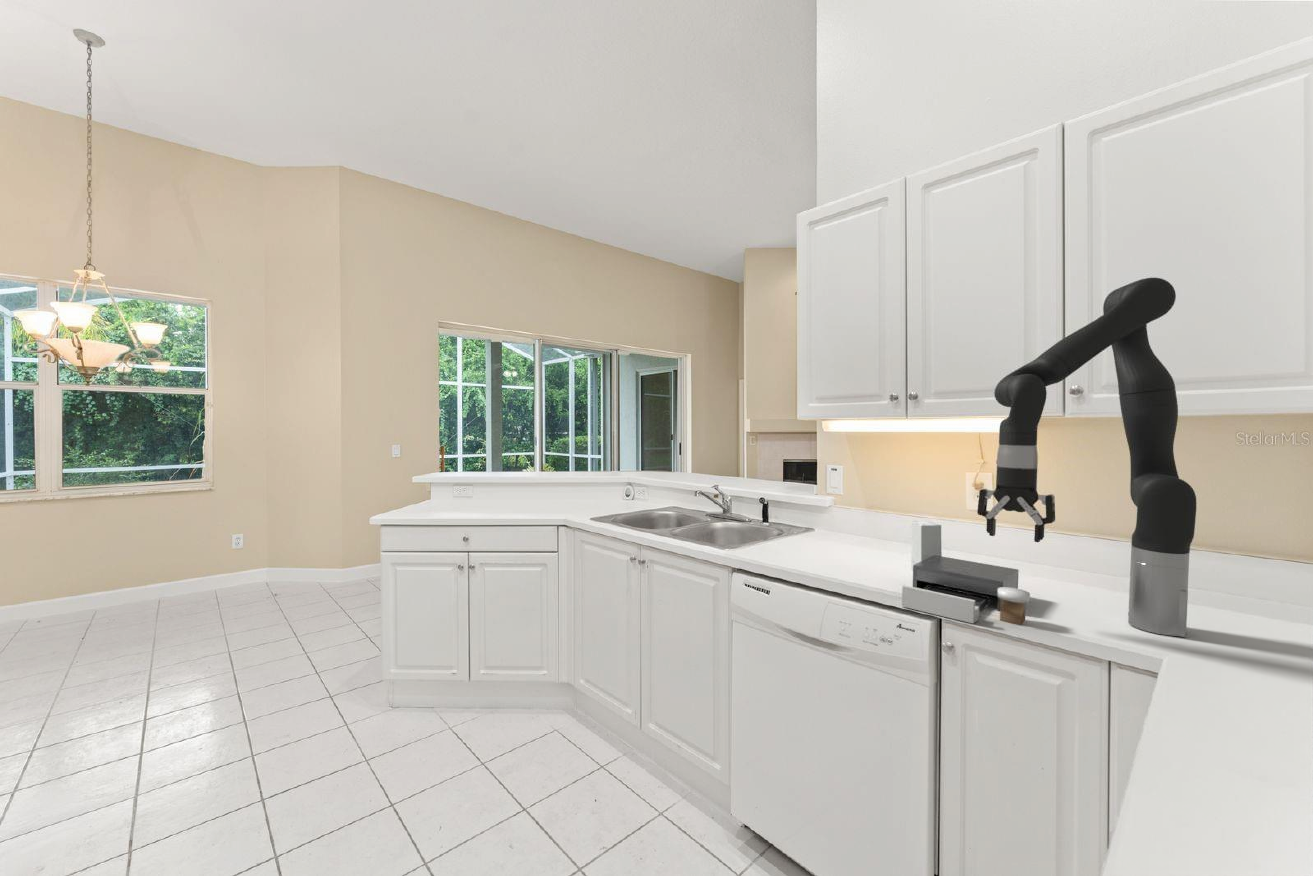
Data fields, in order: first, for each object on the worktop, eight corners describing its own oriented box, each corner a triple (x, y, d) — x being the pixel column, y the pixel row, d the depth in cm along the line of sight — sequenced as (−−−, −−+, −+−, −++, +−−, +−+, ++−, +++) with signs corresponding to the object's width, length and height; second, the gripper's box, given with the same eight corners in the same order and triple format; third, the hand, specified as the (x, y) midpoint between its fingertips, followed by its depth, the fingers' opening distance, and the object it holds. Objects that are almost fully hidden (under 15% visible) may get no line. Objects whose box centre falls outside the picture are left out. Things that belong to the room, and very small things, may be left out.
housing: (1017, 597, 138) (1018, 569, 138) (1002, 611, 127) (1003, 582, 126) (933, 580, 152) (933, 555, 152) (912, 592, 141) (913, 565, 140)
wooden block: (1025, 620, 121) (1025, 598, 121) (1021, 625, 118) (1022, 602, 118) (1004, 616, 124) (1004, 594, 124) (999, 620, 121) (1000, 598, 121)
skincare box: (942, 577, 155) (943, 525, 154) (919, 576, 155) (921, 524, 155) (930, 569, 163) (931, 520, 163) (909, 568, 164) (910, 519, 163)
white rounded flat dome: (1032, 598, 121) (1032, 591, 121) (1026, 604, 117) (1026, 597, 117) (1000, 592, 125) (1001, 585, 125) (994, 598, 121) (994, 591, 121)
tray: (993, 604, 131) (994, 585, 131) (973, 623, 118) (973, 601, 118) (927, 590, 141) (928, 572, 141) (901, 606, 129) (902, 586, 128)
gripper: (1059, 467, 118) (1056, 541, 119) (985, 462, 128) (982, 531, 129) (1052, 468, 113) (1049, 546, 113) (975, 464, 123) (973, 535, 123)
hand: (1014, 538), depth 121 cm, fingers open, 8 cm apart
